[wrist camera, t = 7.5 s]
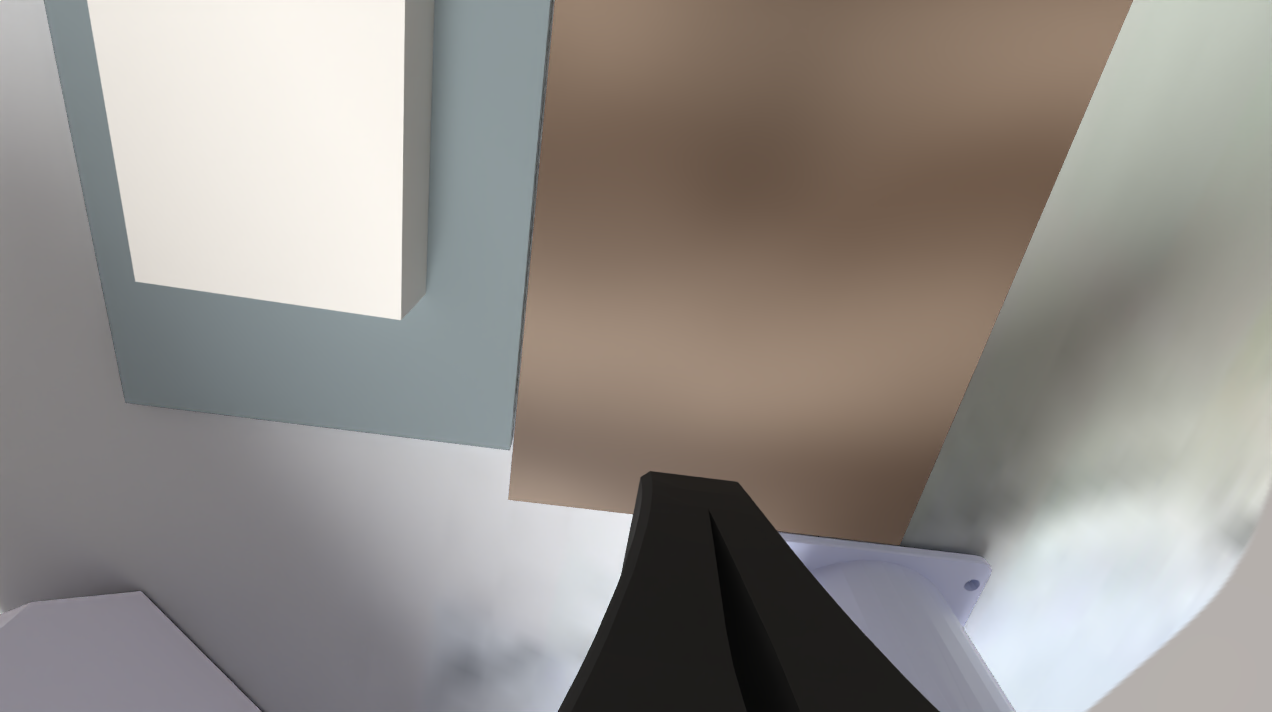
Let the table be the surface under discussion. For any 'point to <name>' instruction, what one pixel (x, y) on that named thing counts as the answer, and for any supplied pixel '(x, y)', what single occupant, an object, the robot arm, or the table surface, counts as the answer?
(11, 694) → the game console
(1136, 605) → the table surface
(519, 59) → the mat
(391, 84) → the card case
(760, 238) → the riser
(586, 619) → the table surface
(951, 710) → the robot arm
